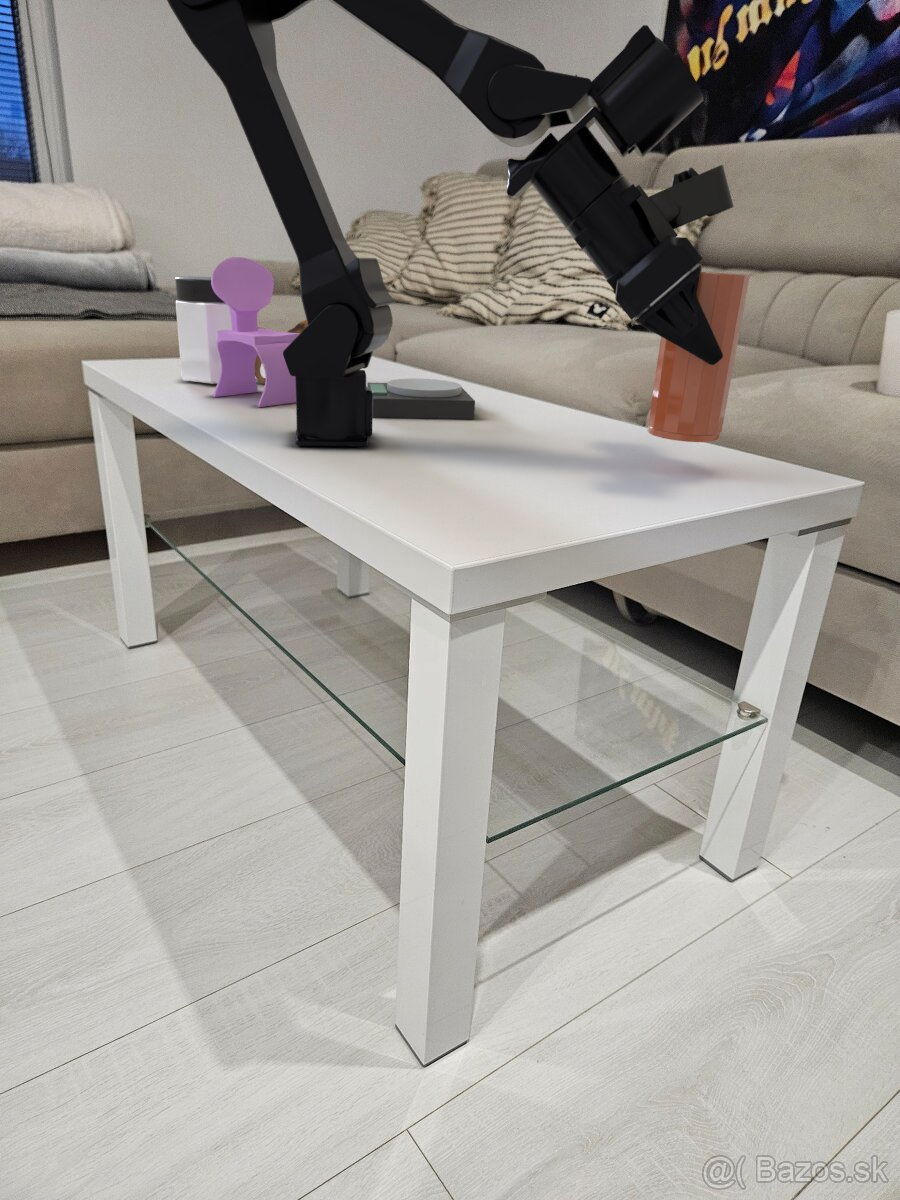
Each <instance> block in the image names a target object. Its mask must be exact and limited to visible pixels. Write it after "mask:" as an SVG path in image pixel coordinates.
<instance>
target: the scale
mask: <svg viewBox="0 0 900 1200" xmlns="http://www.w3.org/2000/svg"><path fill="white" fill-rule="evenodd" d="M367 387H370V388H371V390H372V393H373V412H372V418H381V419H382V418H385V419H386V418H387V419H389V418H390V419H391V418H392V419H435V420H436V419H439V420H443V419H444V420H475V412H476V411H475V409H476V400H475V399H474V397H472V396H471V395H470V394H469V393H468V392H467V391H466V389H464V388H463V385H462V384H460V383H458V382H455V381H450V380H444V379H436V378H435V379H434V378H418V377H417V378H412V377H411V378H398V379H397V378H396V379H392V380H389V381H387V382H367Z"/></svg>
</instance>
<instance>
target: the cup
mask: <svg viewBox="0 0 900 1200" xmlns="http://www.w3.org/2000/svg"><path fill="white" fill-rule="evenodd" d="M750 277H751V275H750V274H741V273H726V272H725V273H724V272H709V271H701V273H700V278H699V283H698V288H697V298H698V301H699V303H700V305H701V307H702V310H703V312H704V314H705V316H706V318H707V321H708V323H709V325H710V327H711V329H712V332H713V334H714V336H715V338H716V340H717V342H718V345H719V347H720V349H721V351H722V353H723V358H722V359H721V360H720V361H718V362H717V363H716V364H714V365H710V364H709V363H707V362H705V361H703V360H702V359H700V358H698V357H696V356H695V355H693V354H691V353H689V352H688V351H686V350H684V349H682V348H681V347H679V346H677V345H675V344H673V343H672V342H670V341H668V340H666V339H665V338H663V337H661V336H660V341H659V347H658V354H657V355H658V356H657V361H656V369H655V375H654V382H653V389H652V397H651V403H650V412H649V417H648V424H647V433H648V434H649V435H652V436H654V437H657V438H661V439H666V440H671V441H677V442H685V443H711V442H713V443H714V442H716V441H719V440H720V439H721V433H722V432H723V425H724V422H725V421H724V420H725V415H726V409H727V403H728V399H729V398H728V397H729V393H730V388H731V381H732V377H733V370H734V365H735V360H736V354H737V348H738V343H739V338H740V331H741V326H742V322H743V321H742V320H743V314H744V310H745V305H746V299H747V293H748V288H749V283H750V282H749V281H750Z"/></svg>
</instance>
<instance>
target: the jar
mask: <svg viewBox="0 0 900 1200" xmlns="http://www.w3.org/2000/svg"><path fill="white" fill-rule="evenodd" d="M211 277H212V276H176V277H175V279H174V280H175V291H176V293H175V294H176V299H177V300H176V301H175V313H176V314H175V315H176V325H177V339H178V349H179V362H180V364H179V365H180V373H181V380H183V381H188V382H195V383H202V384H210V385H211V384H212V385H213V384H215V385H216V384H218V381H219V377H220V372H221V362H220V357H219V353H218V350H217V345H216V342H217V340H218V333H217V331H221V330H232V323H231V315H230V308H229V306H228V305H227V304H226V303H225V302H224V301H223V300H221V299H220V298H219V297H218V296H217V295H216V294H215V292H214V291H213V289H212V285H211Z"/></svg>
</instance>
